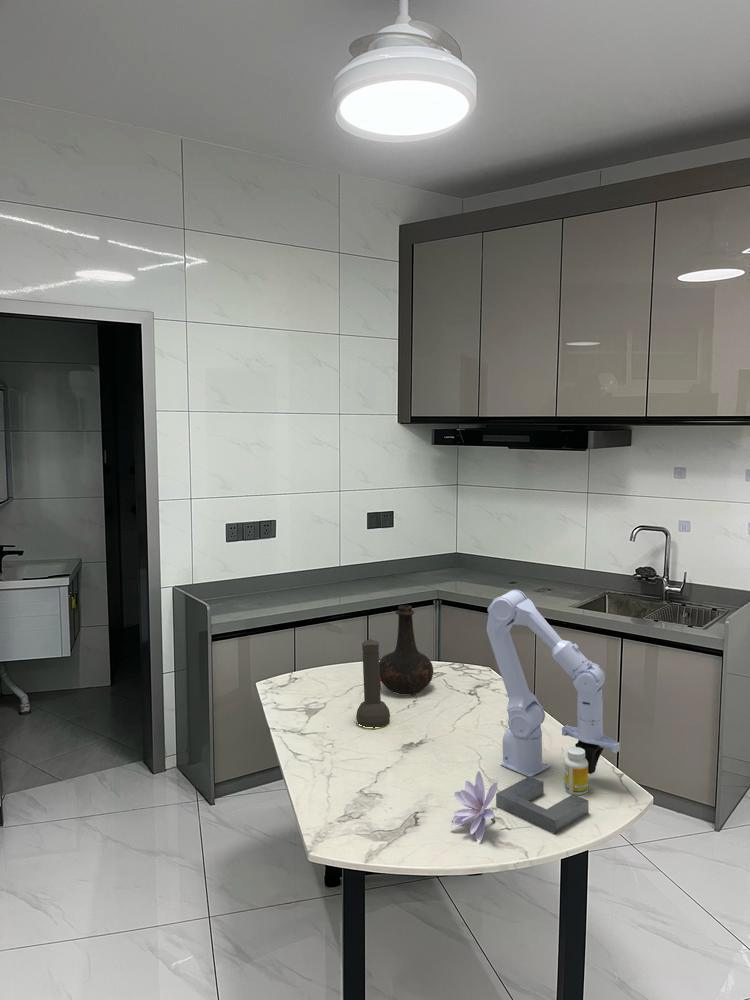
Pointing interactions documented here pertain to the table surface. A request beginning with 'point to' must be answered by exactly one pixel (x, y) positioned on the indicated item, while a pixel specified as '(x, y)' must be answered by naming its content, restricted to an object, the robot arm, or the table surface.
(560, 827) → the grey u-shaped block
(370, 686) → the flashlight
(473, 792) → the water lily
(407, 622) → the glass bottle
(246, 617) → the table surface
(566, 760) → the supplement bottle
